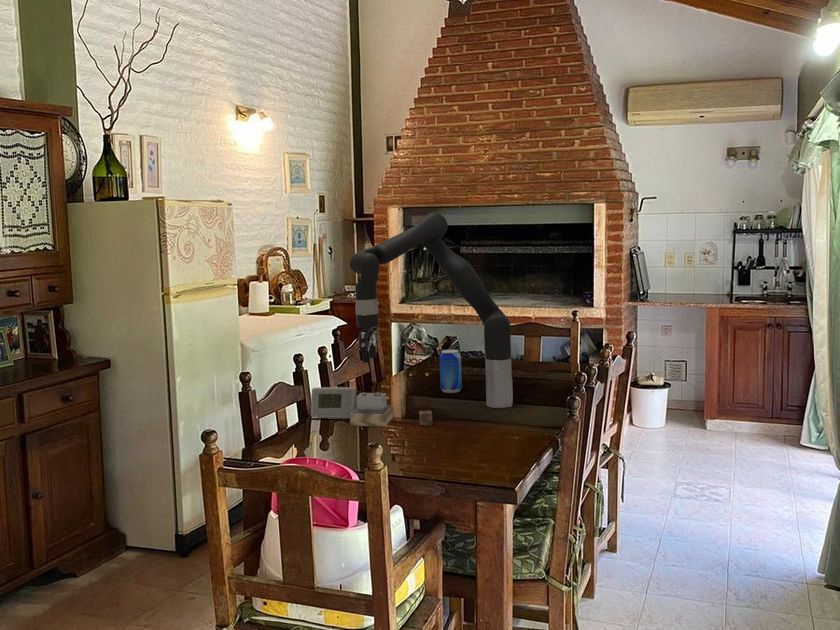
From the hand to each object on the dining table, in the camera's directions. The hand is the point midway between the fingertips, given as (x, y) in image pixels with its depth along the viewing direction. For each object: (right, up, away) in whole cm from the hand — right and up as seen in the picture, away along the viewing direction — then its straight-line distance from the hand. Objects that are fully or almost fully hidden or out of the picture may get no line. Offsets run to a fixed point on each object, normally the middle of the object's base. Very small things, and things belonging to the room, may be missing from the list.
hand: (369, 360), depth 262 cm
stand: (+1, -21, +3) cm, 21 cm away
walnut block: (+19, -21, -3) cm, 29 cm away
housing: (+1, -17, +2) cm, 17 cm away
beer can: (+29, -15, +44) cm, 55 cm away
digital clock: (-13, -21, +9) cm, 26 cm away
